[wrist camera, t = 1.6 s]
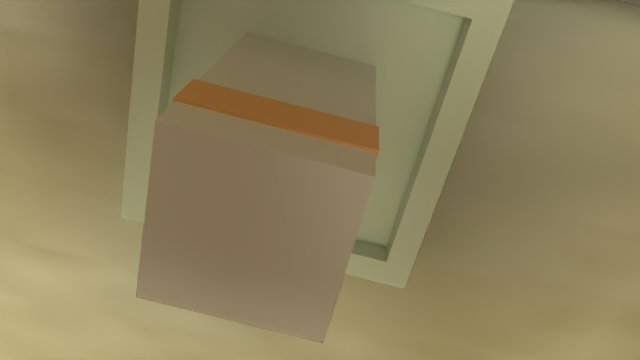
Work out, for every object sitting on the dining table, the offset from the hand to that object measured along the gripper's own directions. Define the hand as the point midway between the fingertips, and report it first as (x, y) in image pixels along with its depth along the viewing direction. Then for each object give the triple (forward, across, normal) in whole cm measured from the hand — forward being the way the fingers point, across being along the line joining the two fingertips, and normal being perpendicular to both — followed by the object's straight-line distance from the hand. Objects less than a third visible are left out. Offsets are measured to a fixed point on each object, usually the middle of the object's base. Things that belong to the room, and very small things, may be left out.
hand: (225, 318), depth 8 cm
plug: (+9, 0, 0) cm, 9 cm away
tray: (+10, 0, 0) cm, 10 cm away
